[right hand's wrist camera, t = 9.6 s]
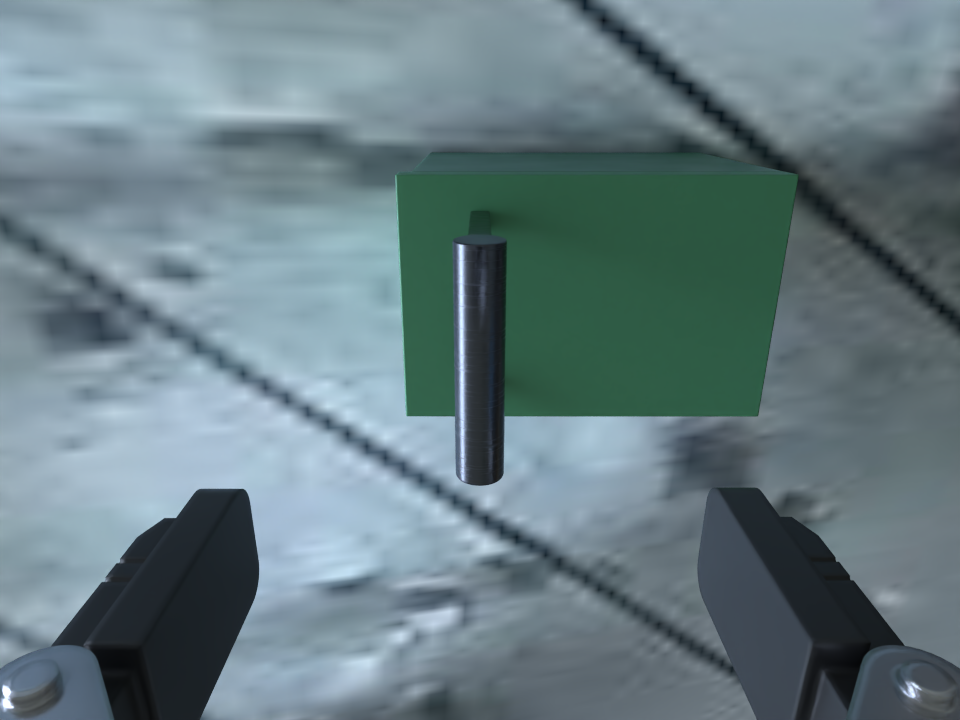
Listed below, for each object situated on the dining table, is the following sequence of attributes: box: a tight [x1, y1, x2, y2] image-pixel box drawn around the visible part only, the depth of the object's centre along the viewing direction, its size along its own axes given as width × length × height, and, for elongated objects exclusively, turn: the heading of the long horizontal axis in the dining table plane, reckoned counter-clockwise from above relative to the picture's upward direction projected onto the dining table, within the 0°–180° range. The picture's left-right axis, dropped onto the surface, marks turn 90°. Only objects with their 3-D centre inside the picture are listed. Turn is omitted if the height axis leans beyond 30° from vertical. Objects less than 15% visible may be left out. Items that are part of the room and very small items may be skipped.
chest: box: [412, 153, 782, 172], centre depth 30 cm, size 14×9×10 cm
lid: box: [395, 172, 799, 486], centre depth 22 cm, size 14×9×8 cm
